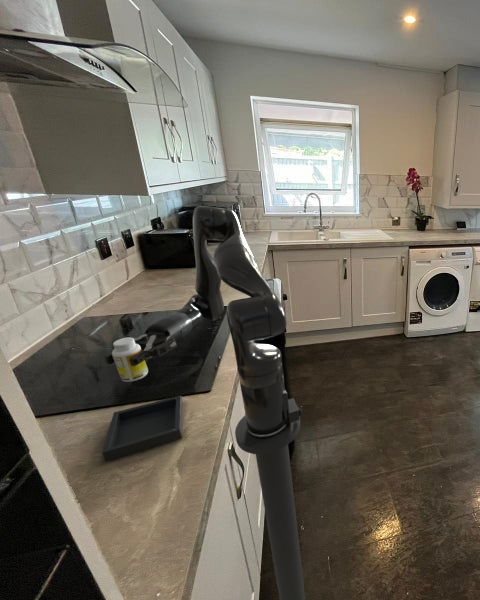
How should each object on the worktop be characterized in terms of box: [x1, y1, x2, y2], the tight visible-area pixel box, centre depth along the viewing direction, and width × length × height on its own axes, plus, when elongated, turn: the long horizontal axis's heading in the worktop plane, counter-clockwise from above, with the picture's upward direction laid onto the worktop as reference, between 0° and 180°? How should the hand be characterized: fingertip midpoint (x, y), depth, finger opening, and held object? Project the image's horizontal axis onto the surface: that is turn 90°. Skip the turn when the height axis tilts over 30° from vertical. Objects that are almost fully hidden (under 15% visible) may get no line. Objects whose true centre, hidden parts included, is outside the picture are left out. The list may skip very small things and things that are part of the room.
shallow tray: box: [101, 395, 184, 463], centre depth 73 cm, size 13×13×2 cm
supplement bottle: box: [111, 337, 149, 383], centre depth 80 cm, size 6×6×10 cm
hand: (119, 361), depth 77 cm, fingers closed on supplement bottle, 5 cm apart
